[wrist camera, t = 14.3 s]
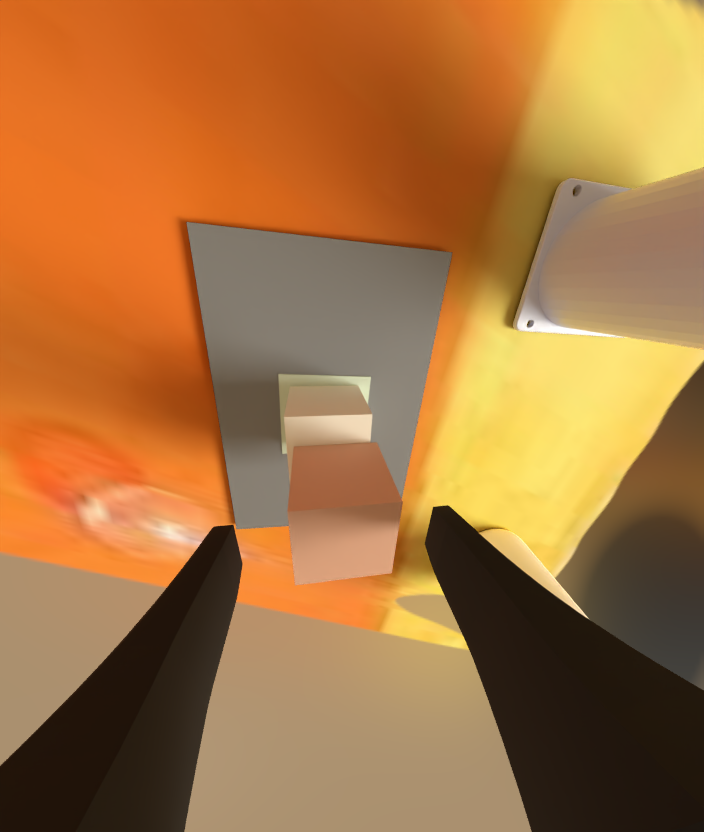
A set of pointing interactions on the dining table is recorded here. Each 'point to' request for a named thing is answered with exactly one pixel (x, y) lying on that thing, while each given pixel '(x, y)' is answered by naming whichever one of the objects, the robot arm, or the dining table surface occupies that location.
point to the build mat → (310, 344)
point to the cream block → (325, 417)
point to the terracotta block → (342, 512)
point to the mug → (527, 562)
